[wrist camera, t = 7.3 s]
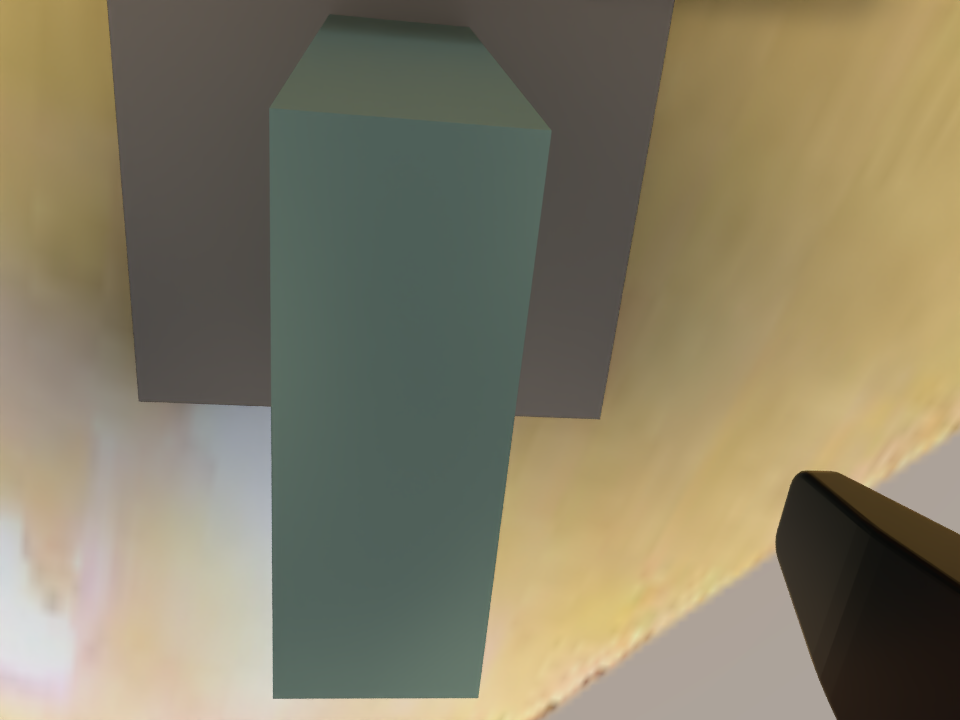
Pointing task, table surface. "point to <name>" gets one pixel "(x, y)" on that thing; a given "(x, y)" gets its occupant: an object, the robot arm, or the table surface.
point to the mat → (246, 177)
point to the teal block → (394, 352)
